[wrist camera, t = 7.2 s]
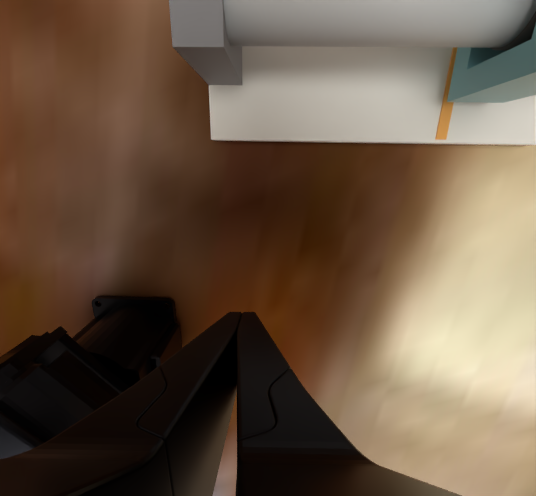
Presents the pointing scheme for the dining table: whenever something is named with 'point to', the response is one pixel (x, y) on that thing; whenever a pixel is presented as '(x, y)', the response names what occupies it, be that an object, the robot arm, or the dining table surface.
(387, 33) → the pipe rig
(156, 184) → the dining table surface
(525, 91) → the sleeve collar
